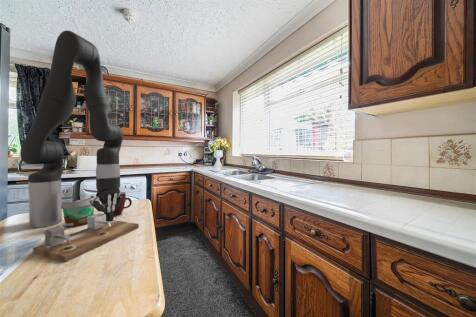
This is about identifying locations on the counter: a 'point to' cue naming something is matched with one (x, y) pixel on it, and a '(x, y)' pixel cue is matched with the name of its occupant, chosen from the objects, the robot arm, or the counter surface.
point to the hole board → (80, 240)
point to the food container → (77, 212)
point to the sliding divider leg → (97, 221)
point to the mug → (122, 205)
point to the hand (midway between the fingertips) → (109, 221)
